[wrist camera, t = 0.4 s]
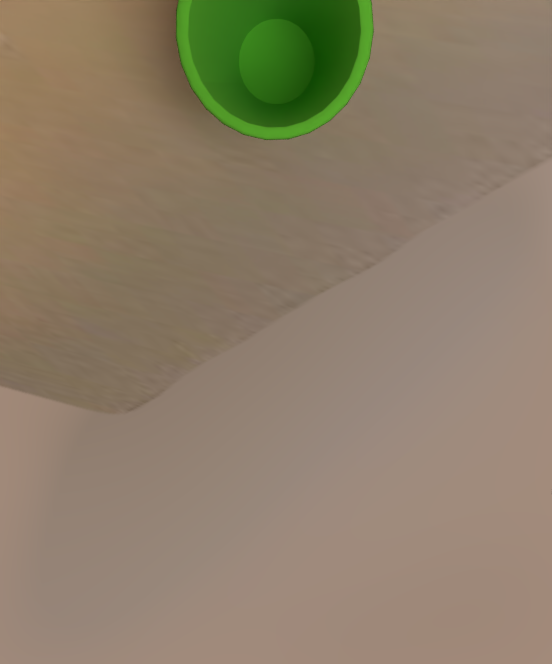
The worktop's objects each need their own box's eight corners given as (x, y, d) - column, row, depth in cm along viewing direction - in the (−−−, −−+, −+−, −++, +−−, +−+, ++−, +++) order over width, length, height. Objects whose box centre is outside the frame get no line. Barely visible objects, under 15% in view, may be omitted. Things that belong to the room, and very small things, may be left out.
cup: (368, 92, 33) (406, 75, 23) (251, 162, 35) (239, 174, 25) (305, -50, 30) (317, -141, 20) (181, 34, 32) (135, -12, 22)
